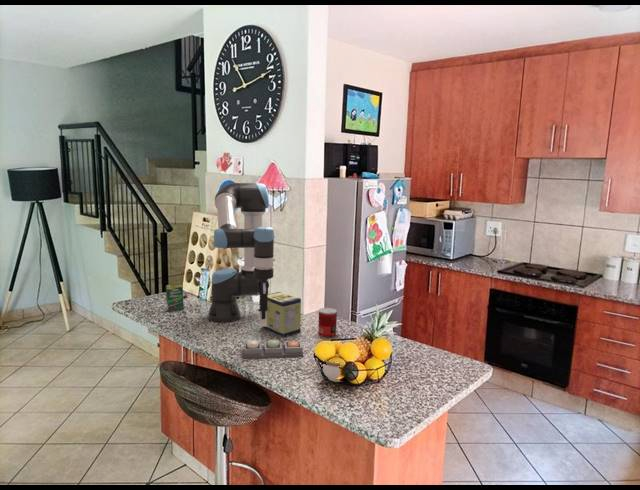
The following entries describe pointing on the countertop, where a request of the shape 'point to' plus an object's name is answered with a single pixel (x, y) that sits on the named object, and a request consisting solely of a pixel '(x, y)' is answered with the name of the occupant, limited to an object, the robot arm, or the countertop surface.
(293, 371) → the countertop surface
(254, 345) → the button cream
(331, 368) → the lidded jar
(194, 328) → the countertop surface
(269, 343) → the button sage
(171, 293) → the coffee box
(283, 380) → the countertop surface
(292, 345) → the button terracotta
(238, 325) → the countertop surface
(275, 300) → the protein box
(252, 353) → the button panel
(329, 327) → the canned food
